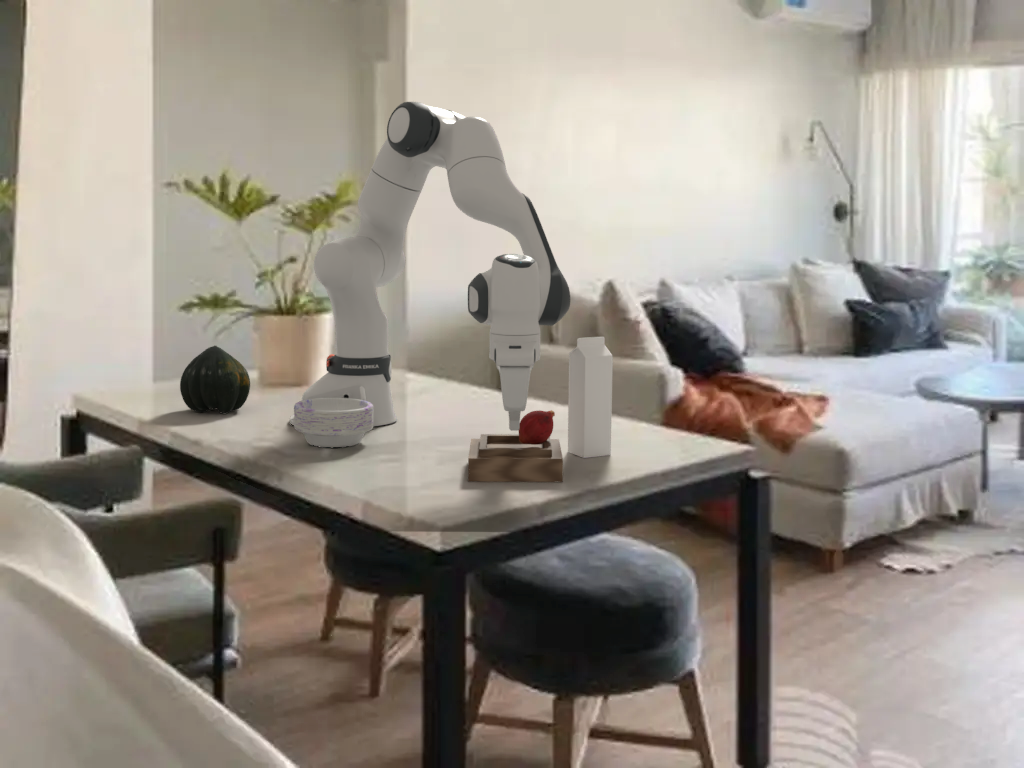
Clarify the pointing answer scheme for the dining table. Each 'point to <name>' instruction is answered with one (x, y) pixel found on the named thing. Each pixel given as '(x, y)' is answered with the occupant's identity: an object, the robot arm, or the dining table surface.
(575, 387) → the milk
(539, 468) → the walnut pedestal
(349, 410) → the paper bowls
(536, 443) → the onion
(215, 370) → the squash
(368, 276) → the robot arm
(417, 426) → the dining table surface
